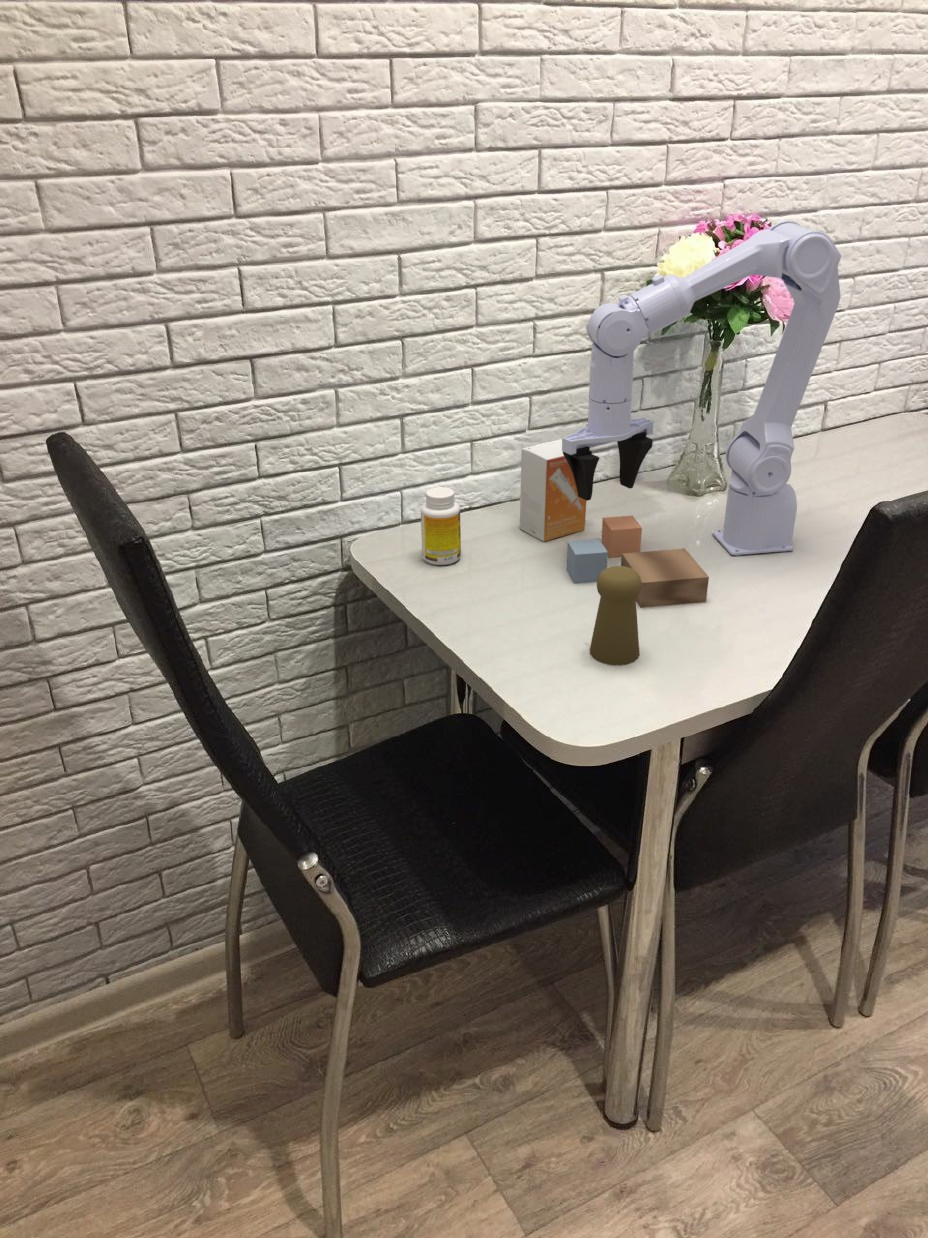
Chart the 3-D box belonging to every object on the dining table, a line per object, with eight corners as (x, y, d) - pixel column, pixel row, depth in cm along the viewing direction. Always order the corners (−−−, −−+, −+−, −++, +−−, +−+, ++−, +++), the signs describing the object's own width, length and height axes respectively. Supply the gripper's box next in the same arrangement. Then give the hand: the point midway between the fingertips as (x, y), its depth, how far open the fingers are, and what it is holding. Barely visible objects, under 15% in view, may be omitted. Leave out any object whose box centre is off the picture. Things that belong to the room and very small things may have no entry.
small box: (544, 543, 153) (546, 459, 147) (518, 529, 158) (519, 447, 151) (586, 530, 157) (590, 448, 151) (560, 516, 162) (563, 436, 155)
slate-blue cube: (597, 567, 146) (599, 538, 144) (606, 581, 142) (607, 552, 140) (566, 570, 145) (567, 540, 143) (574, 584, 141) (575, 554, 139)
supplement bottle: (466, 563, 147) (465, 496, 142) (429, 569, 146) (427, 502, 141) (453, 547, 152) (452, 482, 147) (417, 553, 150) (415, 487, 145)
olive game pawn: (585, 641, 128) (589, 560, 122) (633, 638, 128) (639, 558, 123) (594, 666, 122) (599, 583, 117) (644, 664, 123) (651, 581, 117)
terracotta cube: (630, 543, 153) (632, 515, 151) (639, 556, 149) (641, 527, 147) (601, 545, 152) (602, 517, 150) (609, 558, 148) (611, 530, 146)
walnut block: (682, 574, 144) (684, 548, 142) (705, 604, 136) (708, 576, 134) (620, 579, 143) (621, 553, 141) (640, 610, 135) (642, 582, 133)
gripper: (632, 381, 145) (626, 472, 152) (549, 399, 138) (547, 494, 145) (666, 393, 140) (659, 487, 146) (581, 412, 133) (578, 510, 140)
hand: (605, 491), depth 145 cm, fingers open, 7 cm apart
